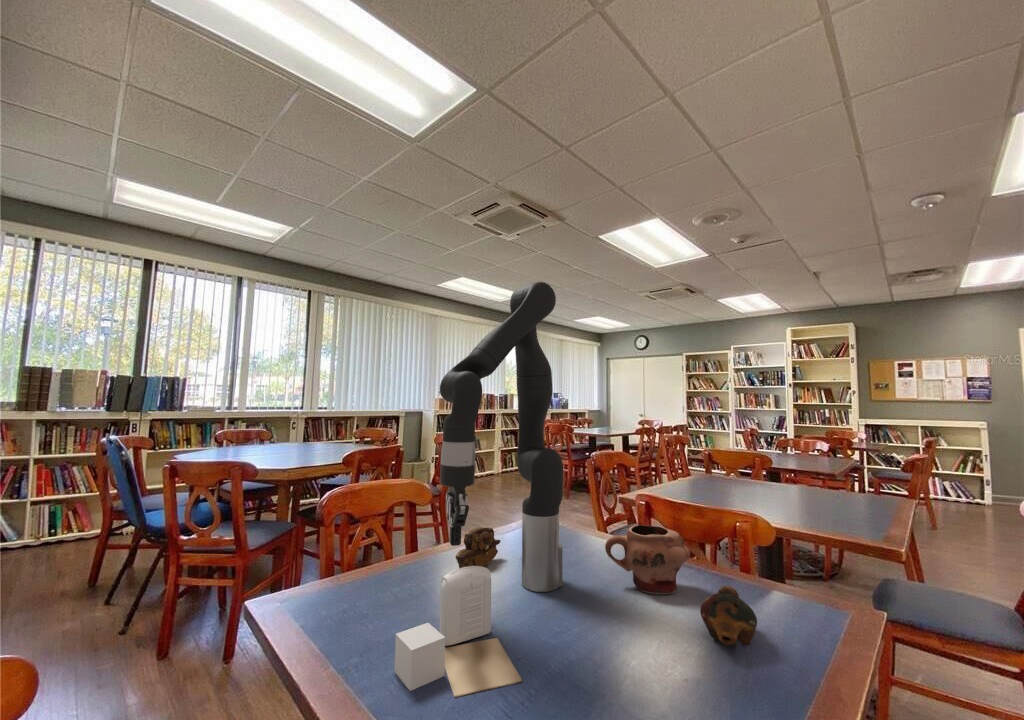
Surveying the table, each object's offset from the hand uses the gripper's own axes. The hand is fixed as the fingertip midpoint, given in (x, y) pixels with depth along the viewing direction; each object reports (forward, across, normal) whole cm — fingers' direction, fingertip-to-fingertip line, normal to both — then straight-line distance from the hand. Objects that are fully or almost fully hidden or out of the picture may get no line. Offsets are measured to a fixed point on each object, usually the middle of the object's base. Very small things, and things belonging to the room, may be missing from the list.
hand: (455, 544), depth 91 cm
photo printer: (+14, -10, 0) cm, 17 cm away
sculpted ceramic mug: (+14, -3, -47) cm, 49 cm away
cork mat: (+14, -19, 0) cm, 24 cm away
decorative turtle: (+14, -27, -48) cm, 56 cm away
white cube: (+14, -18, +9) cm, 25 cm away
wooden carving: (+14, +23, -12) cm, 30 cm away
